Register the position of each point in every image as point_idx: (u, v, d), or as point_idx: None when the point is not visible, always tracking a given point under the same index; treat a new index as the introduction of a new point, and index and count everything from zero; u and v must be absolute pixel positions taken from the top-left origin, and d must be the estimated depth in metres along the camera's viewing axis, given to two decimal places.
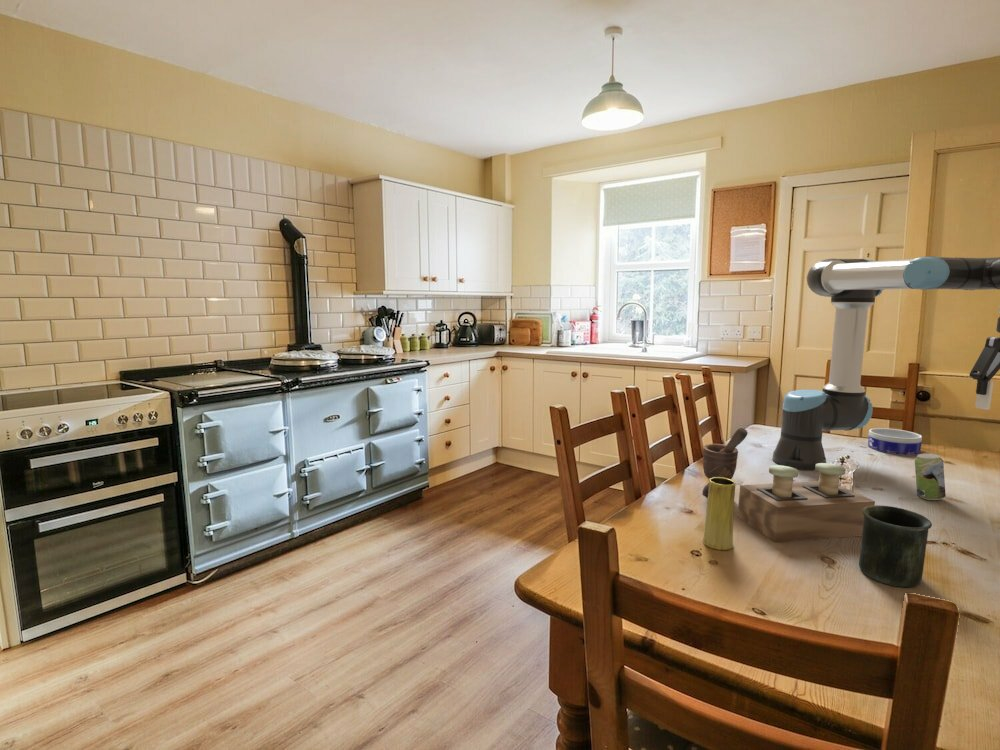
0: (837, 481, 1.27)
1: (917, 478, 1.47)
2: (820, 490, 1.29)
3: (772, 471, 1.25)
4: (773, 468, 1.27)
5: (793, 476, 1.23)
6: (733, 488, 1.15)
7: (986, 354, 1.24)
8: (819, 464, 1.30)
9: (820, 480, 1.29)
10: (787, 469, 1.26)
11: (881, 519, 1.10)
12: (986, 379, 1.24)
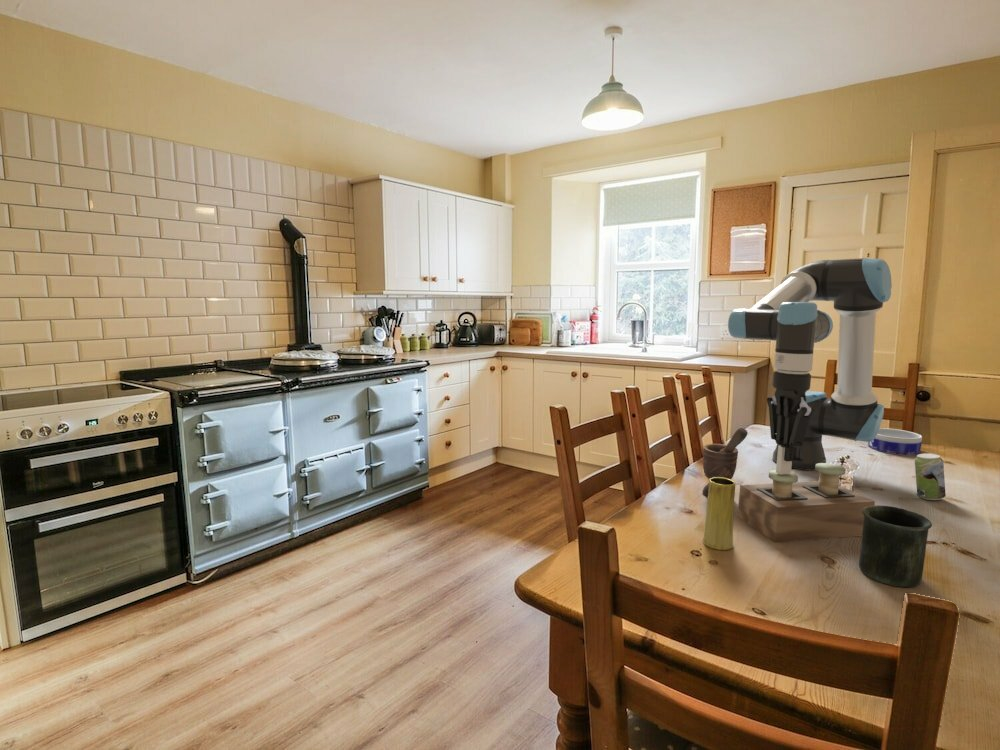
0: (837, 481, 1.27)
1: (917, 478, 1.47)
2: (820, 490, 1.29)
3: (772, 476, 1.26)
4: (773, 473, 1.27)
5: (793, 481, 1.23)
6: (733, 488, 1.15)
7: None
8: (819, 464, 1.30)
9: (820, 480, 1.29)
10: (787, 474, 1.26)
11: (881, 519, 1.10)
12: (776, 443, 1.26)
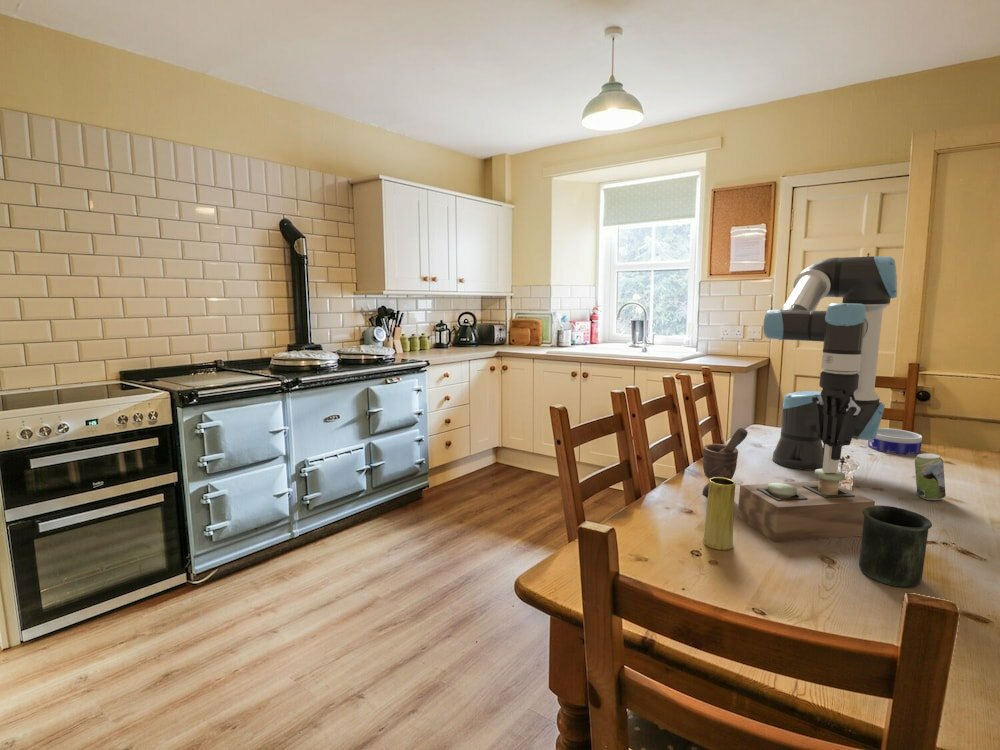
0: (836, 487, 1.27)
1: (917, 478, 1.47)
2: None
3: (771, 489, 1.26)
4: (772, 486, 1.27)
5: (791, 494, 1.24)
6: (733, 488, 1.15)
7: None
8: (818, 470, 1.30)
9: (819, 486, 1.29)
10: (786, 487, 1.26)
11: (881, 519, 1.10)
12: (823, 442, 1.28)
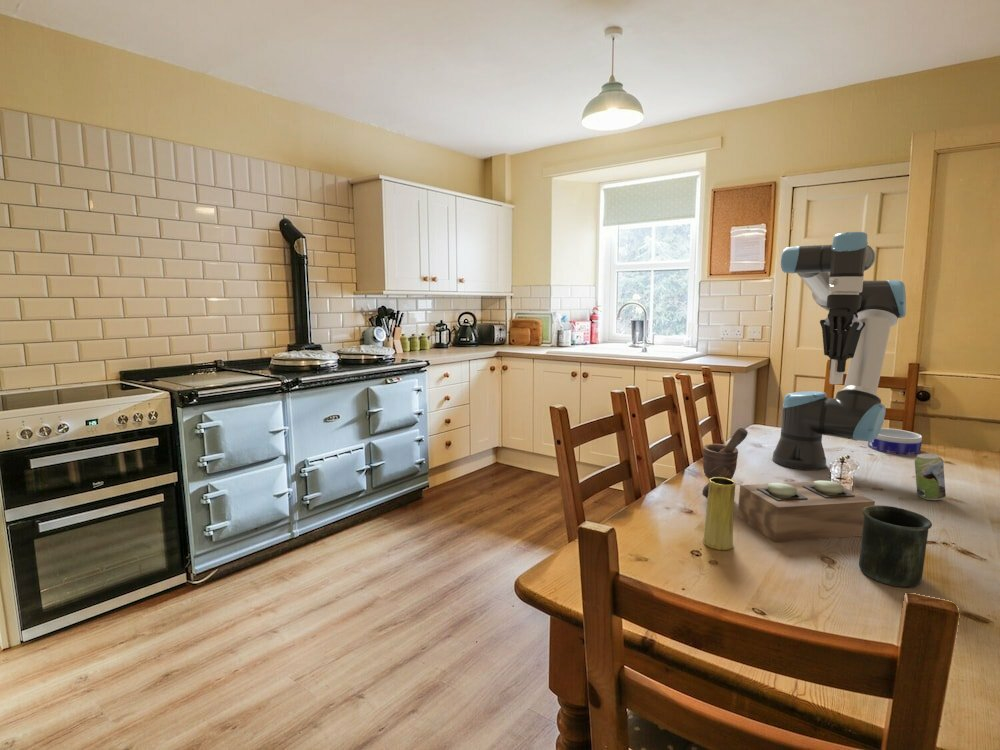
0: None
1: (917, 478, 1.47)
2: None
3: (771, 489, 1.26)
4: (772, 486, 1.27)
5: (791, 494, 1.24)
6: (733, 488, 1.15)
7: None
8: (817, 481, 1.30)
9: None
10: (786, 487, 1.26)
11: (881, 519, 1.10)
12: (830, 357, 1.46)
